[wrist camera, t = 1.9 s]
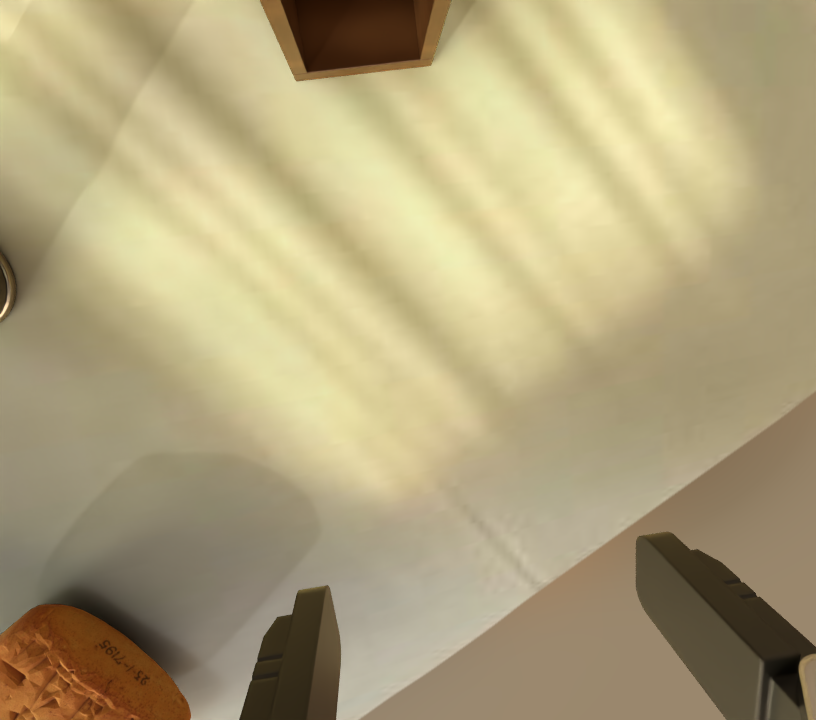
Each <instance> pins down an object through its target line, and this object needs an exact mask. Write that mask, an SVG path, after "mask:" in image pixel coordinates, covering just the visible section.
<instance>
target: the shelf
mask: <svg viewBox="0 0 816 720" xmlns="http://www.w3.org/2000/svg"><path fill="white" fill-rule="evenodd" d="M260 2H261V4H262V6H263V9H264V11H265V13H266V15H267V18H268V20H269V22H270V24H271V27H272V29H273V31H274V33H275V35H276V38H277V40H278V42H279V44H280V47H281V49H282V51H283V53H284V56H285V58H286V60H287V62H288V65H289V67H290V69H291V71H292V74H293V75H294V78H295V80H296V81H303V80H312V79H320V78H329V77H337V76H346V75H355V74H363V73H372V72H380V71H389V70H398V69H406V68H415V67H424V66H431V64H432V61H433V58H434V55H435V52H436V48H437V45H438V42H439V39H440V35H441V32H442V29H443V26H444V23H445V19H446V16H447V13H448V10H449V6H450V3H451V0H260Z"/></svg>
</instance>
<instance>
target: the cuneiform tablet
mask: <svg viewBox="0 0 816 720" xmlns="http://www.w3.org/2000/svg"><path fill="white" fill-rule="evenodd" d="M190 718H191V712H190V708H189V704H188V702H187V701H186V699H185V697H184V696H183V694H182V693H181V692H180V690H179V689H178V687H177V685H176V684H175V683H174V681H173V680H172V679H171V677H170V676H169V675H168V674H167V673H166V672H165V671H164V670H163V669H162V668H161V667H160V666H159V665H158V664H157V663H156V662H155V661H154V660H153V659H152V658H150V657H149V656H148V655H147V654H146V653H145V652H143V651H142V650H141V649H140V648H139V647H138V646H137V645H136V644H134V643H133V642H132V641H131V640H130V639H128V638H127V637H126V636H125V635H123V634H122V633H121V632H119V631H118V630H116V629H115V628H113V627H111V626H110V625H108V624H107V623H106V622H104V621H103V620H101V619H99V618H97V617H95V616H93V615H92V614H90V613H88V612H86V611H84V610H81V609H78V608H75V607H72V606H67V605H61V604H45V605H38V606H37V607H35V608H33V609H31V610H29V611H28V612H27V613H26V614H24V615H23V616H22V617H21V618H20V619H18V620H17V621H16V622H15V623H14V624H13V625H11V626H10V627H9V628H8V629H7V630H6V631H4V632H3V633H2V634H1V635H0V720H190Z"/></svg>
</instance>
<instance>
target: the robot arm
mask: <svg viewBox="0 0 816 720" xmlns="http://www.w3.org/2000/svg"><path fill="white" fill-rule="evenodd" d="M15 297H16V283H15V278H14V275H13V272H12V269H11V267H10V265H9V263H8V262H7V260H6V259H5V257H4V256H3V255H2V253H1V252H0V322H2V321H3V320H4V319H5V318H6V317H7V316H8V314H9V313H10V311H11V310H12V307H13V305H14V302H15ZM636 590H637V594H638V597H639V600H640V602H641V605H642V607H643V608H644V610H645V612H646V613H647V615H648V616H649V617H650V619H651V620H652V621H653V623H654V624H655V625H656V627H657V628H658V629H659V630H660V632H661V633H662V635H663V636H664V637H665V639H666V640H667V641H668V643H669V644H670V645H671V647H672V648H673V649H674V650H675V652H676V653H677V655H678V656H679V657H680V658H681V660H682V661H683V663H684V664H685V665H686V666H687V668H688V669H689V671H690V672H691V673H692V674H693V676H694V677H695V678H696V680H697V681H698V682H699V684H700V685H701V686H702V688H703V689H704V690H705V692H706V693H707V694H708V696H709V697H710V698H711V700H712V701H713V702H714V703H715V705H716V706H717V708H718V709H719V710H720V712H721V713H722V714H723V716H724V717H725V718H726V719H727V720H816V647H815V646H814V645H813V644H812V643H811V642H810V641H809V640H807V639H806V638H805V637H804V636H803V635H802V634H801V633H800V632H798V630H796V629H795V628H794V627H793V626H792V625H791V624H790V623H789V622H787V621H786V620H785V619H784V618H783V617H782V616H781V615H779V614H778V613H777V612H776V611H775V610H774V609H773V608H772V607H771V606H769V605H768V604H767V603H766V602H765V601H764V600H763V599H762V598H761V597H757V596H756V593H755V592H754V591H753V590H752V589H750V588H749V587H748V586H747V585H746V584H745V583H742V582H741V581H740V579H739V578H738V577H737V576H736V575H735V574H734V573H733V572H732V571H730V570H729V569H728V568H727V567H726V566H725V565H724V564H723V563H721V562H720V561H718V560H716V559H714V558H712V557H710V556H708V555H707V554H705V553H703V552H701V551H699V550H698V549H697V550H690V549H689V548H688V547H687V546H685V545H684V544H683V543H682V542H681V541H680V540H679V539H678V538H677V537H676V536H675V535H674V534H672V533H670V532H662V533H656V534H649V535H643V536H639V537H638V538H637V541H636ZM257 659H258V661H257V663H256V665H255V668H254V672H253V675H252V681H251V682H250V685H249V689H248V692H247V695H246V699H245V702H244V706H243V709H242V713H241V716H240V719H239V720H336V713H337V701H338V689H339V678H340V666H341V644H340V635H339V630H338V625H337V620H336V615H335V610H334V605H333V601H332V596H331V591H330V588H329V586H328V585H327V586H321V587H315V588H309V589H303V590H299V591H298V593H297V596H296V600H295V604H294V609H293V613H292V615H287V616H280V617H277V618H276V620H275V621H274V623H273V624H272V626H271V627H270V628H269V630H268V631H267V633H266V634H265V636H264V637H263V641H262V644H261V648H260V651H259V654H258V658H257Z"/></svg>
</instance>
